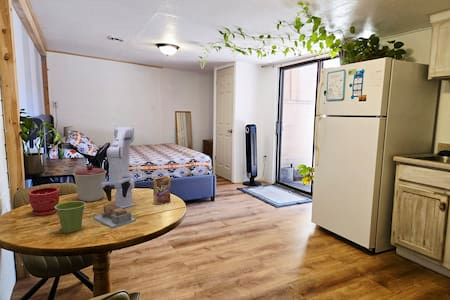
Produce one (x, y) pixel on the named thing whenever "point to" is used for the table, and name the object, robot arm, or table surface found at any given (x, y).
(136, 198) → the table surface
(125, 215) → the bracket board
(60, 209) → the plant pot
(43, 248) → the table surface
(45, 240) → the table surface
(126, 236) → the table surface
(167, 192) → the candy box
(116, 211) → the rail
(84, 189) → the canister
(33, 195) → the plant pot
